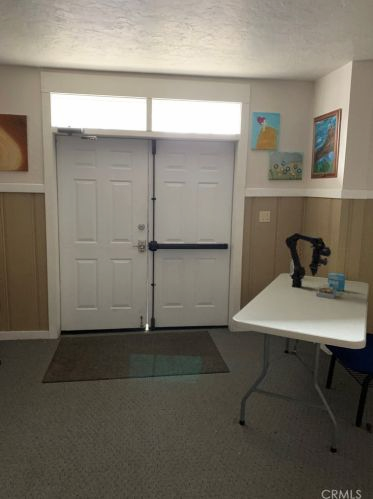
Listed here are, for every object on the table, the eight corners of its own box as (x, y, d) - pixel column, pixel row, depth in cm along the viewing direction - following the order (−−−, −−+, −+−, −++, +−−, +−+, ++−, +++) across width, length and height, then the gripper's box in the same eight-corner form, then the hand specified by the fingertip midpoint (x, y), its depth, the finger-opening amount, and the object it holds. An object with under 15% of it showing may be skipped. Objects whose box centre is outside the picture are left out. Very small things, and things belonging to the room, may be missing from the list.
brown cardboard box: (318, 292, 284) (318, 287, 283) (319, 290, 288) (319, 285, 288) (331, 294, 280) (332, 289, 279) (332, 292, 284) (332, 287, 284)
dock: (316, 296, 283) (316, 290, 282) (318, 292, 291) (318, 287, 291) (333, 298, 277) (334, 293, 277) (335, 295, 286) (336, 290, 285)
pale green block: (322, 287, 283) (322, 283, 282) (323, 286, 286) (323, 282, 285) (328, 288, 281) (328, 284, 281) (329, 287, 284) (329, 283, 284)
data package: (326, 289, 302) (328, 274, 300) (327, 288, 306) (329, 272, 304) (343, 291, 297) (345, 276, 295) (344, 290, 301) (345, 274, 299)
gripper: (326, 257, 278) (324, 279, 281) (329, 253, 295) (327, 274, 297) (309, 255, 283) (308, 277, 286) (314, 252, 300) (312, 272, 302)
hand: (314, 275), depth 293 cm, fingers open, 9 cm apart
